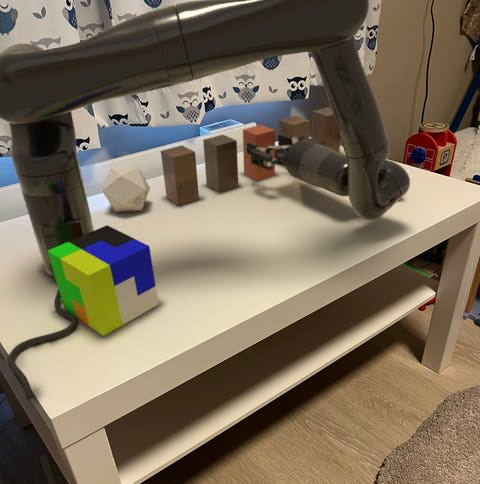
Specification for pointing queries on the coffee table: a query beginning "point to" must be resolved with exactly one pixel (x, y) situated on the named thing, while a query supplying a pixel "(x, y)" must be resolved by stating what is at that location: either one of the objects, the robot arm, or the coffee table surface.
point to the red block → (262, 139)
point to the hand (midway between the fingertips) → (263, 143)
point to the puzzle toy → (105, 278)
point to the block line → (234, 156)
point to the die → (126, 189)
